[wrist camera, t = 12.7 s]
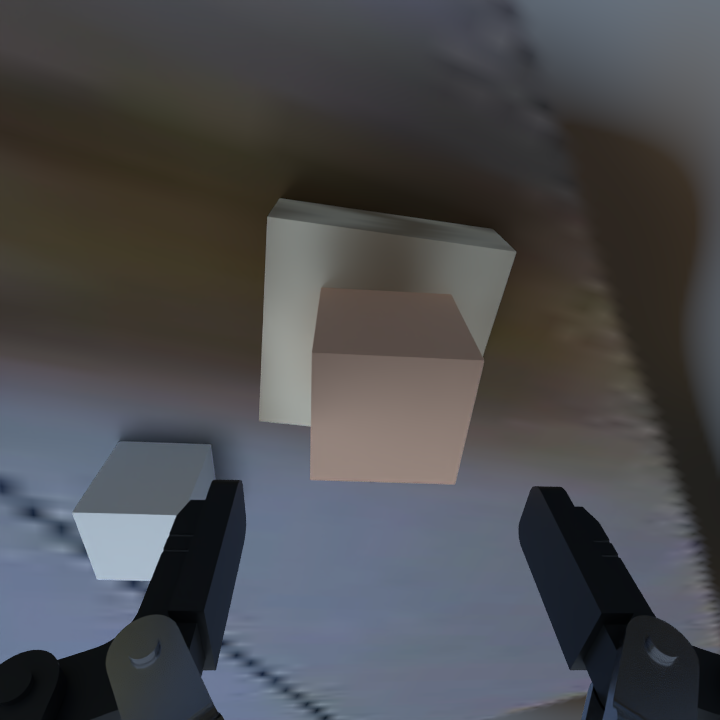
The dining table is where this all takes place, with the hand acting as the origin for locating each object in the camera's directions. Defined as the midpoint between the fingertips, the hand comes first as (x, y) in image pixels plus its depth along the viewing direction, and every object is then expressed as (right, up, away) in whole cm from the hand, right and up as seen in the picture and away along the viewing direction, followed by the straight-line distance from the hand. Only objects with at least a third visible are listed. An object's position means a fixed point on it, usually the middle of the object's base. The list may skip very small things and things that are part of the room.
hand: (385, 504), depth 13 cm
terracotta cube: (0, +5, +8) cm, 9 cm away
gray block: (0, +7, +11) cm, 13 cm away
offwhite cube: (-13, -3, +16) cm, 21 cm away
